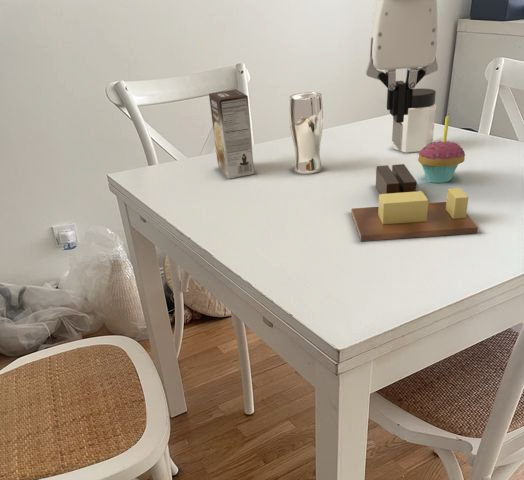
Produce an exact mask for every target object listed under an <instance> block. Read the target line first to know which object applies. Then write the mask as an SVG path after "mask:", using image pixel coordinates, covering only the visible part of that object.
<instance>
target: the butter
mask: <svg viewBox="0 0 524 480" xmlns="http://www.w3.org/2000/svg"><path fill="white" fill-rule="evenodd" d="M428 203H429V198H428V197H427V196H426V194H425V193H424V192H423V191H422V190H419V191H417V190H416V192H403V193H389V194H379V193H378V206H377V207H378V215H379V217H380V219H381V222H382V224H396V223H410V222H424V221H427V211H428Z"/></svg>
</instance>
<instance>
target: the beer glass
mask: <svg viewBox="0 0 524 480" xmlns="http://www.w3.org/2000/svg"><path fill="white" fill-rule="evenodd" d="M322 95H323V94H322V93H321V92H314V91H313V92H311V91H308V92H299V93H294V94H291V95H290V96H289V107H288V109H289V111H288V112H289V115H288V116H289V128H290V134H291V138H292V143H293V148H294V165H293V171H294V173H296V174H301V175H310V174H316V173H319V172H321V171H322V170H323V166H322V161H321V154H320V153H321V141H322V136H323V127H324V110H323V109H324V106H323V97H322Z"/></svg>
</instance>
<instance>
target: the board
mask: <svg viewBox="0 0 524 480" xmlns="http://www.w3.org/2000/svg"><path fill="white" fill-rule="evenodd" d="M446 202H447V201H438V202H436V201H435V202H428V211H427V221H424V222H410V223H396V224H382V222H381V219H380V217H379V215H378V207H379V206H371V207H369V206H367V207H355V208H354V207H353V208H351V211H350V212H351V213H350V214H351V217H352V220H353V223H354V224H355V229H356V231H357V234H358V237H359V240H360V242H370V241H384V240H399V239H400V240H401V239H412V238H413V239H414V238H427V237H442V236H456V235H473V234H478V231H479V227H478V225H477V224H476V223H475V222H474V221H473V219H472V217H470V216H469V215H468V213H467V212H466V218H460V219H453V218H452V217H451V215H450V214H449V213H448V212H447V210H446Z"/></svg>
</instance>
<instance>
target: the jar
mask: <svg viewBox="0 0 524 480" xmlns="http://www.w3.org/2000/svg"><path fill="white" fill-rule="evenodd" d="M436 91H437V90H435V89H433V88H414V89H413V96H412V107H411V108H409V109H408V115H404V121H403V122H401V123H402V125H403V134H402V148H401V151H399V149H398V148H397V147H396V145H395V144H394V143H393V142H392V149H393V150H395V151H398V152H403V153H404V154H405V153H406V154H407V153H409V154H410V153H420V150H422V148H423V147H425V146H426V145H427V144H430V143H432V142H434V141H433V140H434V131H435V121H436V110H437V103H436V95H437V92H436Z"/></svg>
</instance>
